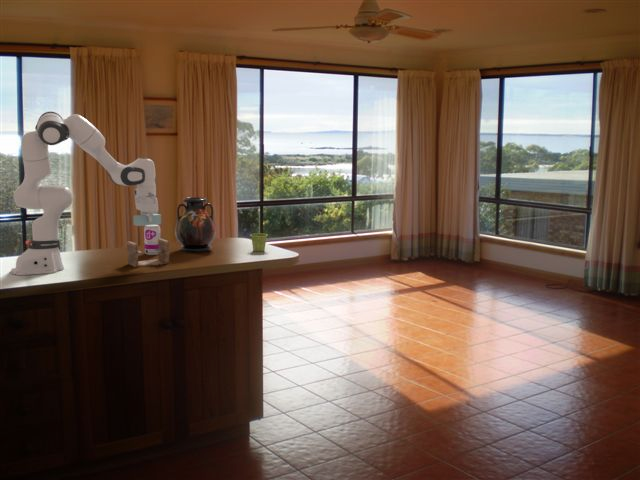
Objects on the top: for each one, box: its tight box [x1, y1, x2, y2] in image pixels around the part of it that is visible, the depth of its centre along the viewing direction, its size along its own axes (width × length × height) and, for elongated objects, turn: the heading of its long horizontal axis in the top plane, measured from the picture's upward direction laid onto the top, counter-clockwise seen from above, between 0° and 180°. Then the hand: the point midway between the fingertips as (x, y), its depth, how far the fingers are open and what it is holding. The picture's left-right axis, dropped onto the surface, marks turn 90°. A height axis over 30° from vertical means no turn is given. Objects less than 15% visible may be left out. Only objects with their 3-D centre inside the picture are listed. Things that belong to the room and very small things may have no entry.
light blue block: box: [132, 213, 162, 227], centre depth 330 cm, size 5×12×4 cm, turn 133°
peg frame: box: [126, 238, 170, 268], centre depth 333 cm, size 17×9×11 cm, turn 126°
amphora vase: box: [174, 196, 217, 254], centre depth 369 cm, size 22×22×28 cm
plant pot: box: [249, 233, 268, 252], centre depth 371 cm, size 9×9×9 cm
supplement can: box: [143, 224, 162, 256], centre depth 359 cm, size 8×8×15 cm
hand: (147, 220), depth 330 cm, fingers closed on light blue block, 5 cm apart
